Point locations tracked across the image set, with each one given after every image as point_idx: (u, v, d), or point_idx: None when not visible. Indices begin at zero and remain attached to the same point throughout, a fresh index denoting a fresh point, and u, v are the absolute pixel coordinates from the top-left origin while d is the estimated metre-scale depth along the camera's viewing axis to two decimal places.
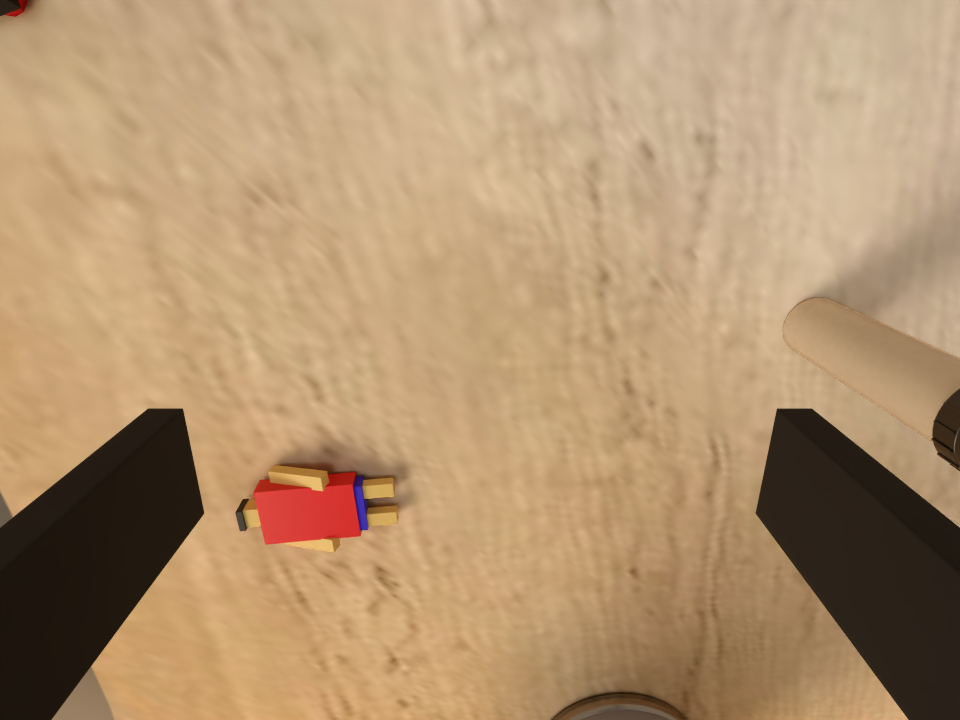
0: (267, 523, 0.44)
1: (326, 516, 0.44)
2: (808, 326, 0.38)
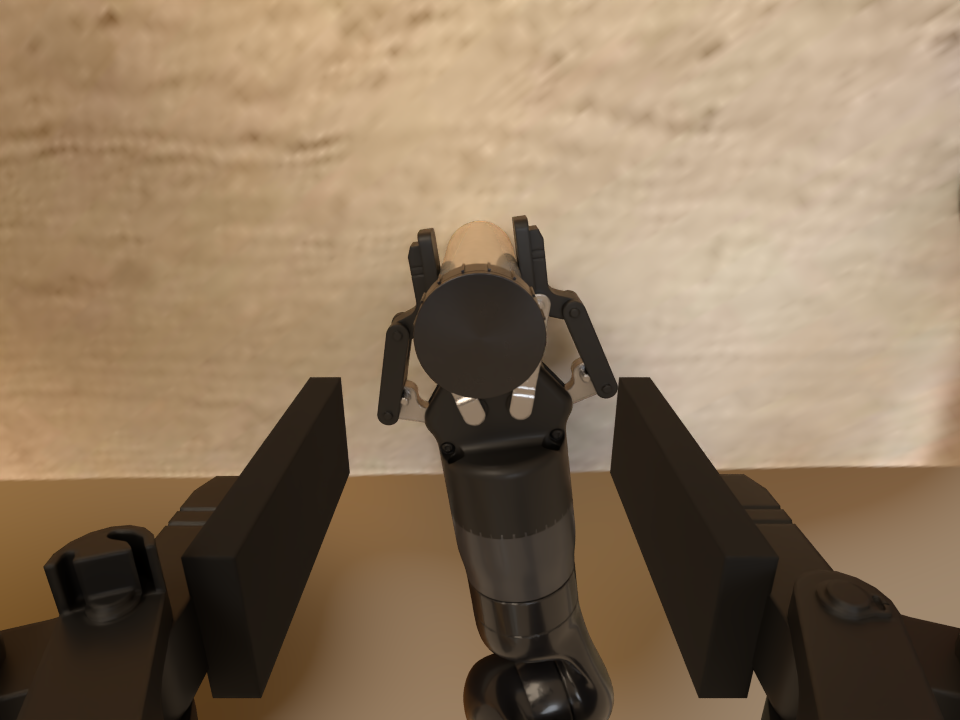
0: None
1: None
2: (497, 231, 0.33)
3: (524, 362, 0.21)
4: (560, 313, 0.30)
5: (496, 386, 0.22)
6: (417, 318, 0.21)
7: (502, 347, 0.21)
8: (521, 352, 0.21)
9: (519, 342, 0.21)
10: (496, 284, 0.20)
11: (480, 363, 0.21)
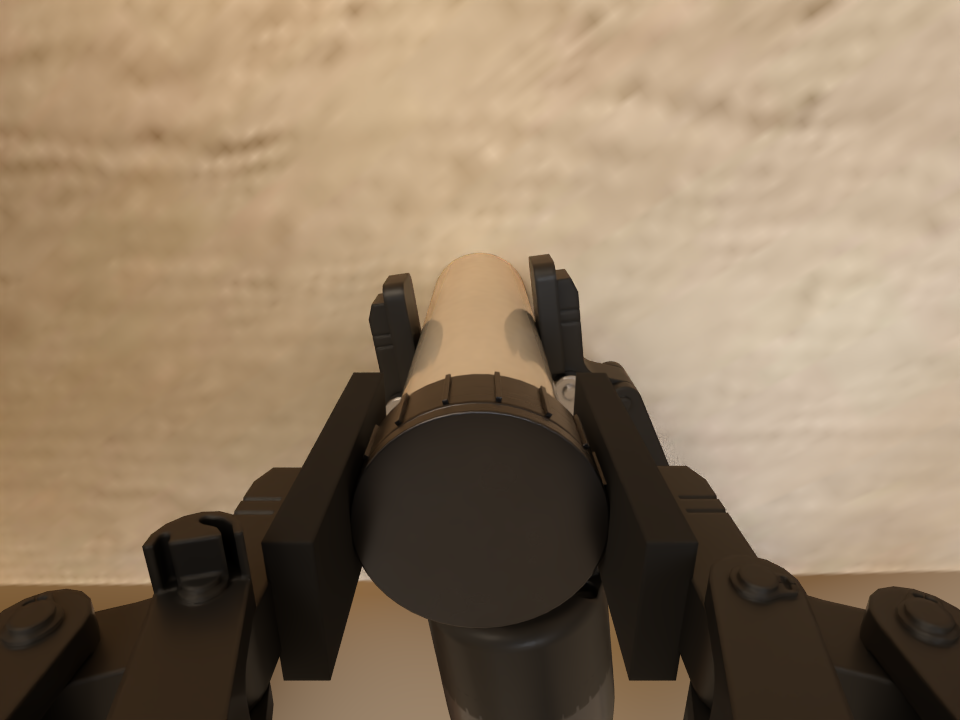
0: None
1: None
2: (505, 272, 0.23)
3: (565, 569, 0.11)
4: None
5: (511, 608, 0.11)
6: (355, 493, 0.10)
7: (523, 544, 0.11)
8: (560, 552, 0.11)
9: (557, 535, 0.11)
10: (512, 432, 0.10)
11: (480, 570, 0.11)
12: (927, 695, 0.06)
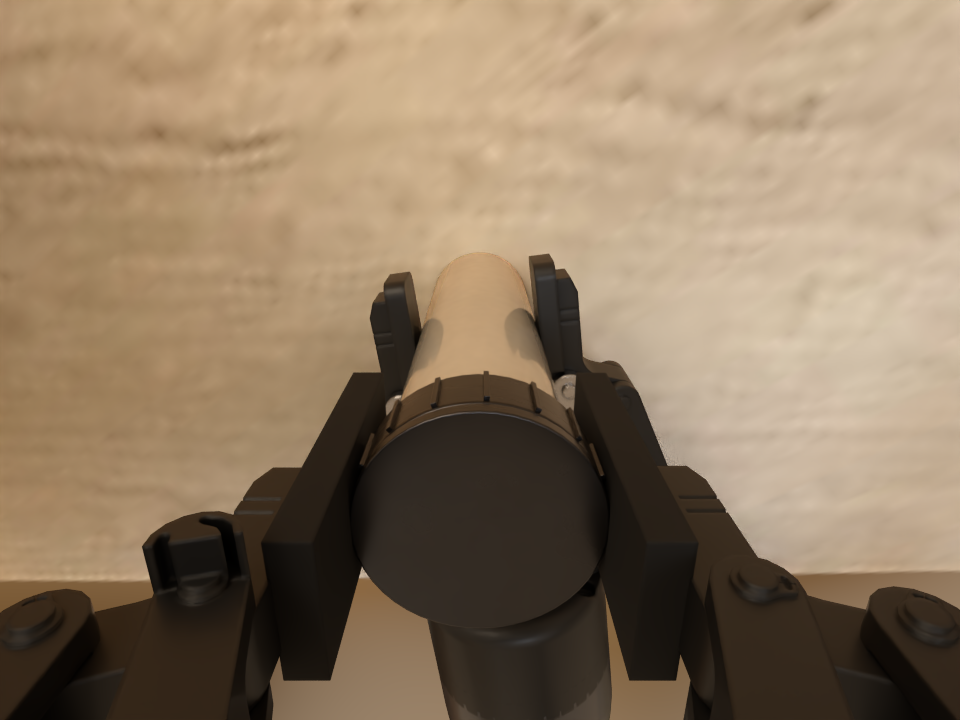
0: None
1: None
2: (505, 271, 0.23)
3: (525, 447, 0.10)
4: None
5: (581, 492, 0.10)
6: (451, 625, 0.11)
7: (494, 490, 0.10)
8: (502, 455, 0.10)
9: (480, 460, 0.10)
10: (368, 511, 0.11)
11: (532, 524, 0.11)
12: (928, 695, 0.06)
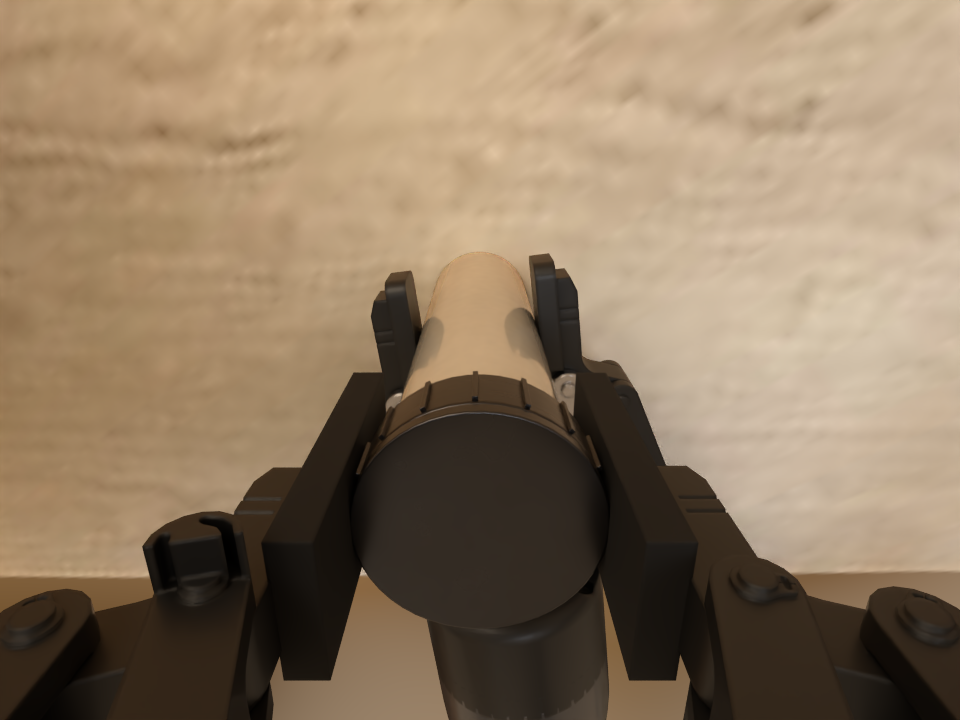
0: None
1: None
2: (505, 270, 0.23)
3: (381, 499, 0.10)
4: None
5: (425, 445, 0.10)
6: (604, 546, 0.11)
7: (432, 521, 0.11)
8: (392, 518, 0.11)
9: (401, 534, 0.11)
10: (468, 615, 0.11)
11: (469, 485, 0.10)
12: (927, 695, 0.06)
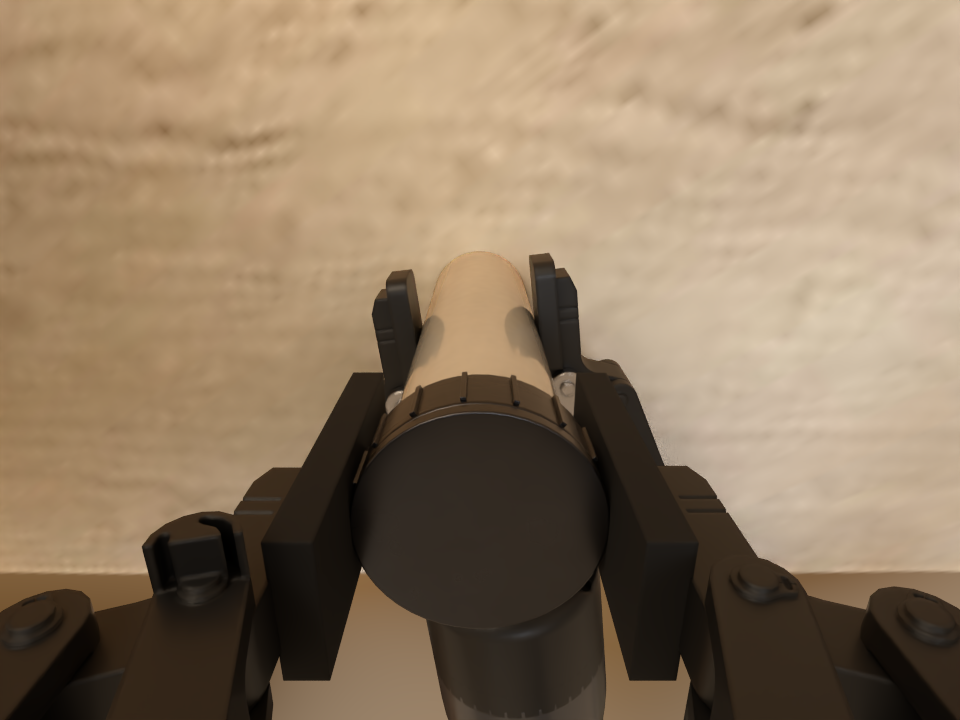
0: None
1: None
2: (505, 270, 0.24)
3: (454, 606, 0.11)
4: None
5: (392, 576, 0.11)
6: (489, 414, 0.10)
7: (473, 568, 0.11)
8: (473, 598, 0.11)
9: (491, 590, 0.11)
10: (591, 531, 0.11)
11: (429, 541, 0.11)
12: (928, 695, 0.06)
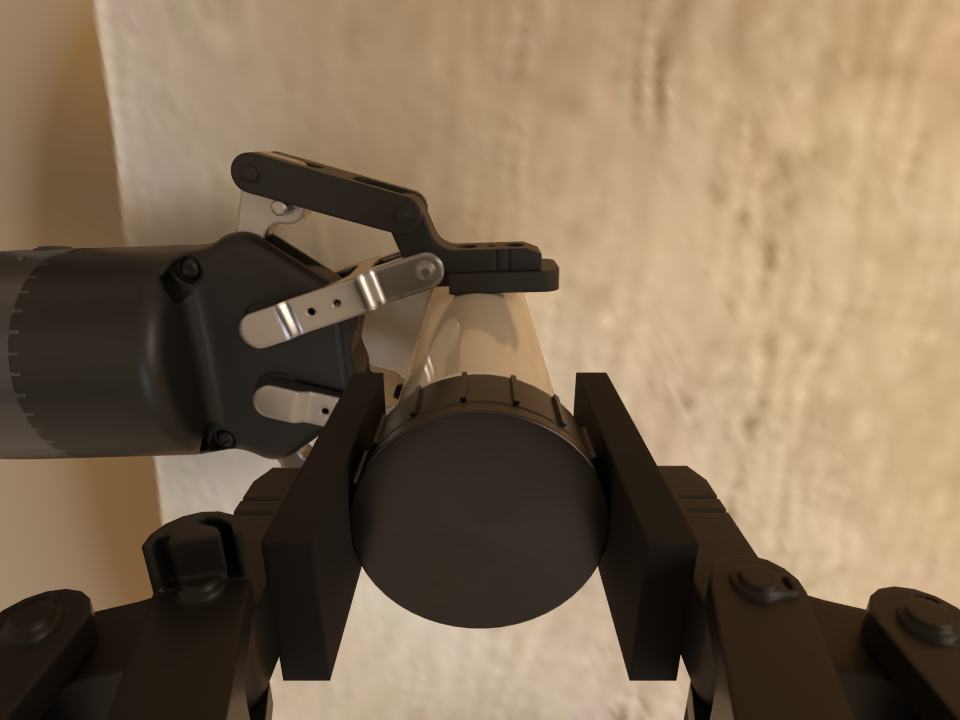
0: None
1: None
2: None
3: (454, 606, 0.11)
4: None
5: (392, 576, 0.11)
6: (489, 414, 0.10)
7: (473, 568, 0.11)
8: (473, 598, 0.11)
9: (491, 590, 0.11)
10: (591, 530, 0.11)
11: (429, 541, 0.11)
12: (927, 695, 0.06)
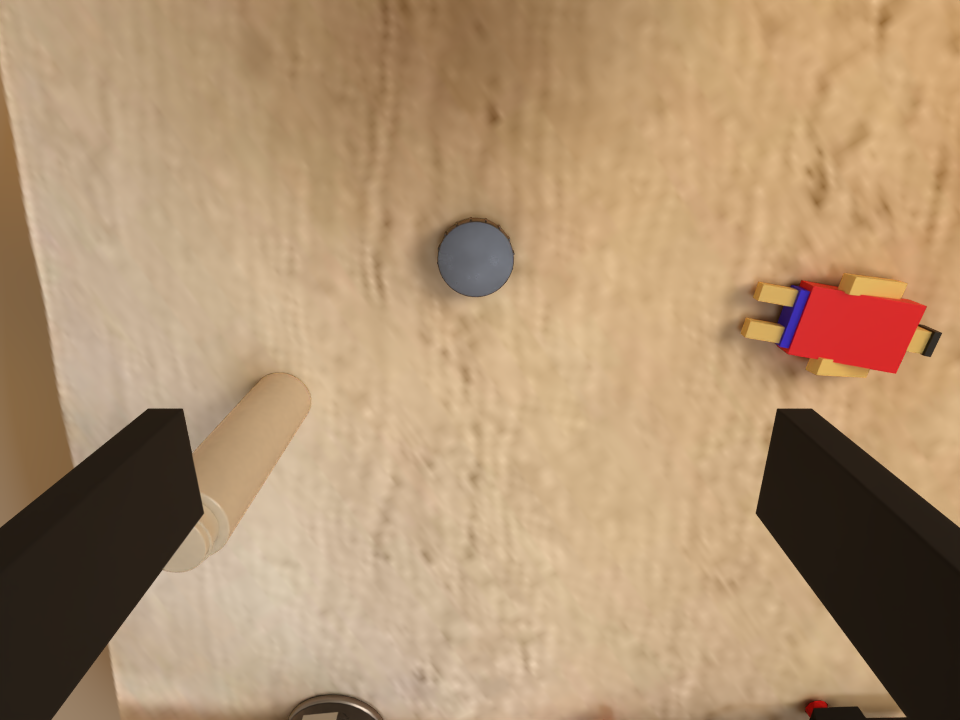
0: (906, 332, 0.38)
1: (837, 323, 0.38)
2: (296, 431, 0.40)
3: (468, 288, 0.37)
4: None
5: (449, 277, 0.37)
6: (478, 222, 0.36)
7: (473, 273, 0.37)
8: (473, 285, 0.37)
9: (479, 282, 0.37)
10: (508, 260, 0.37)
11: (461, 264, 0.37)
12: None
